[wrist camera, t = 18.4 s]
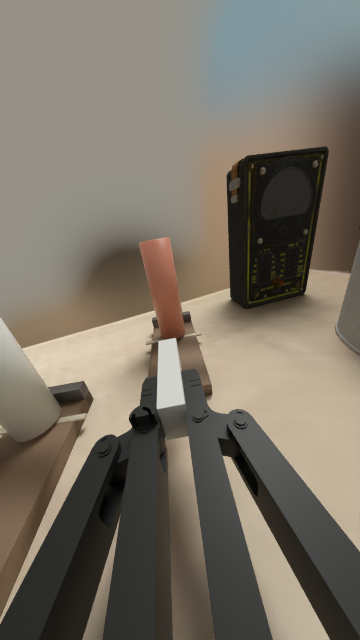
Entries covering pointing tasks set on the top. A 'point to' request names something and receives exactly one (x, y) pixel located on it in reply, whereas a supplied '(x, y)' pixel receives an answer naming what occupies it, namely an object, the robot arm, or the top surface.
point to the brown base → (182, 352)
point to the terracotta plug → (163, 286)
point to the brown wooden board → (34, 479)
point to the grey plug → (23, 393)
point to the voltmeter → (273, 223)
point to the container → (351, 310)
